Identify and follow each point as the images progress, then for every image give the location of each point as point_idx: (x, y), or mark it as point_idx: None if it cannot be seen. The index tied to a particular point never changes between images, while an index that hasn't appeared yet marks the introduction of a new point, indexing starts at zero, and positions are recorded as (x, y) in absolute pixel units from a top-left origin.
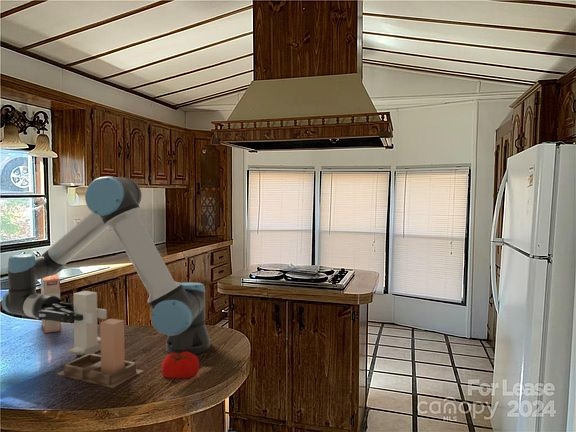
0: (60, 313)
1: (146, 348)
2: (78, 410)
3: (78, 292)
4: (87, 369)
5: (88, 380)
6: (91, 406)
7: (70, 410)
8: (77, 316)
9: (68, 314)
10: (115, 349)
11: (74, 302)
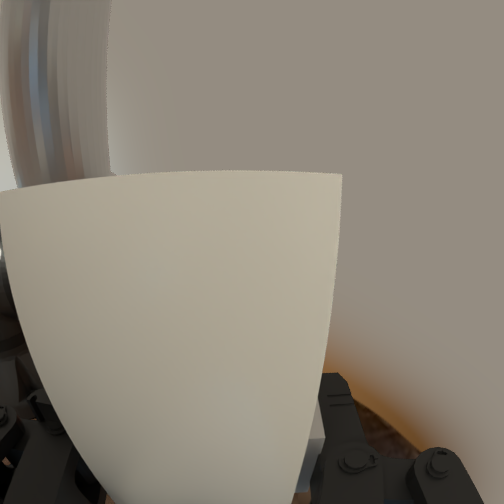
0: (473, 500)
1: (7, 464)
2: (390, 425)
3: (166, 173)
4: (294, 497)
5: (303, 494)
6: (365, 419)
7: (401, 435)
8: (348, 394)
9: (387, 481)
10: None
11: (312, 388)
